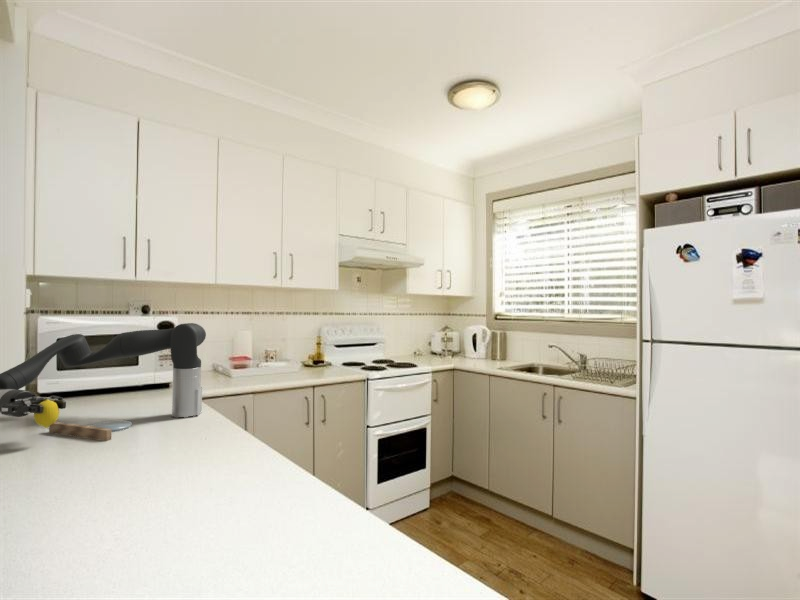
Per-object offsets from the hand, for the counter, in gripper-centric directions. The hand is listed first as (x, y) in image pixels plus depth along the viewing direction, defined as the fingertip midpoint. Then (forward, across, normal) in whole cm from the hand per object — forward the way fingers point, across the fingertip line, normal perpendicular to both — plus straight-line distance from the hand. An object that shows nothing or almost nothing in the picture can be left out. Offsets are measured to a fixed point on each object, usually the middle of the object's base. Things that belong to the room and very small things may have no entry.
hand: (53, 407), depth 124 cm
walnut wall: (-3, +10, +11) cm, 15 cm away
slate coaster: (-3, +19, +11) cm, 22 cm away
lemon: (-3, 0, +6) cm, 7 cm away
